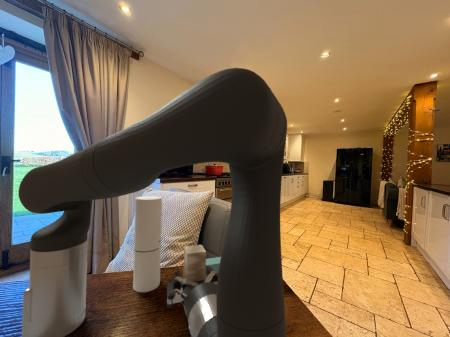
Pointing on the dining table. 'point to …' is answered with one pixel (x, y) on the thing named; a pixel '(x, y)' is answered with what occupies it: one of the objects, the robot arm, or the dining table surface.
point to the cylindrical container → (147, 243)
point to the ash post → (194, 263)
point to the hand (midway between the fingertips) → (192, 270)
